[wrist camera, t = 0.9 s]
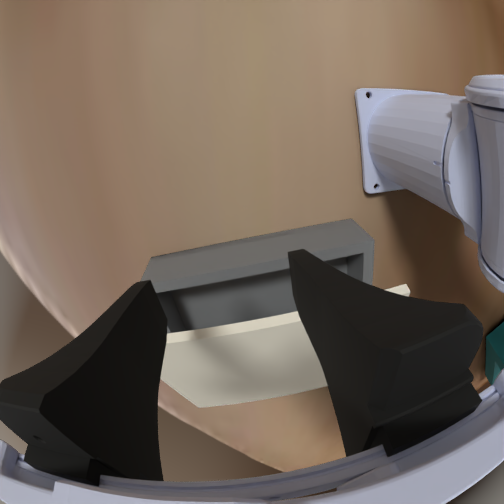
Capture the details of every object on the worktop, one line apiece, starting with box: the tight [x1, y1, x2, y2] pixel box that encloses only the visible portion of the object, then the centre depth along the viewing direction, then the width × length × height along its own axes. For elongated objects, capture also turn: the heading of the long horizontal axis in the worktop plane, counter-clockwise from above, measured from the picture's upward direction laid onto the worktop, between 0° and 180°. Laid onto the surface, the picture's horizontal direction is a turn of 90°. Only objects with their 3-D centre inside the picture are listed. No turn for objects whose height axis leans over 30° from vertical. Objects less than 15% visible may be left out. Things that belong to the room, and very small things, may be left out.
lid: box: [160, 284, 410, 408], centre depth 19 cm, size 16×14×1 cm
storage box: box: [140, 219, 374, 334], centre depth 23 cm, size 16×14×4 cm
